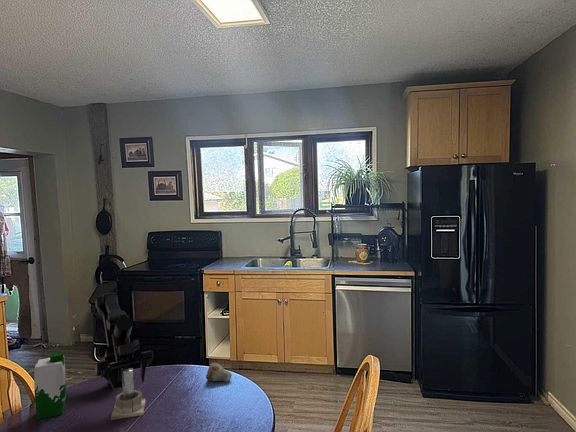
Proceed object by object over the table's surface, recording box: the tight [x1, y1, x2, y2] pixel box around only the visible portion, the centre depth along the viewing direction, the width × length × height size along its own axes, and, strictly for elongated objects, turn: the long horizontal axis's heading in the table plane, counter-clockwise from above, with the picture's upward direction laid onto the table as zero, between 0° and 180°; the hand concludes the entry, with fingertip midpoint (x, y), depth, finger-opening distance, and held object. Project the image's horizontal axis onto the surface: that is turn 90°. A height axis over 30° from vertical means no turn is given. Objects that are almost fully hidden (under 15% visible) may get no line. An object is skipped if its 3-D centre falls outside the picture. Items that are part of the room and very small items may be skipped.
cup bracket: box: [110, 389, 146, 421], centre depth 133 cm, size 10×10×5 cm
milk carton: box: [33, 351, 67, 420], centre depth 132 cm, size 9×9×20 cm
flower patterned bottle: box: [205, 362, 232, 383], centre depth 155 cm, size 8×10×10 cm
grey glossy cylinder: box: [122, 367, 135, 400], centre depth 133 cm, size 4×4×13 cm
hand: (129, 385), depth 131 cm, fingers open, 9 cm apart
